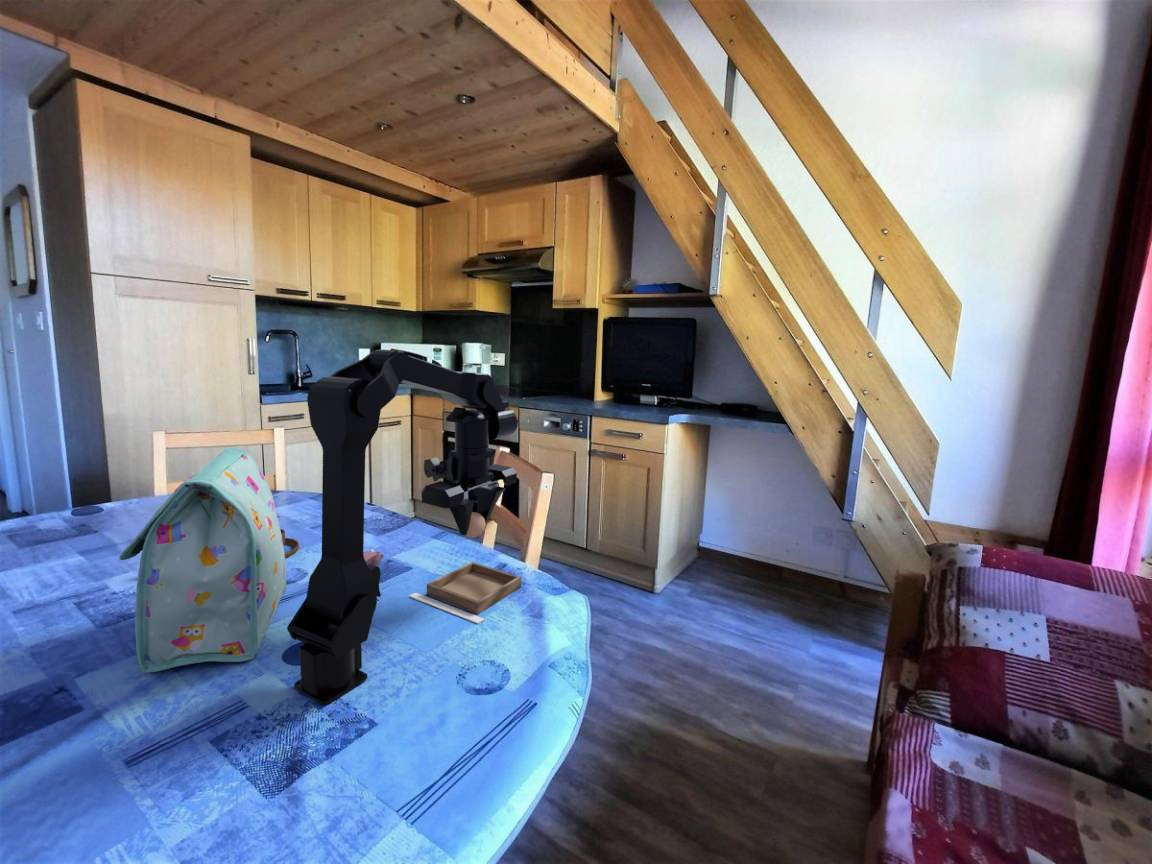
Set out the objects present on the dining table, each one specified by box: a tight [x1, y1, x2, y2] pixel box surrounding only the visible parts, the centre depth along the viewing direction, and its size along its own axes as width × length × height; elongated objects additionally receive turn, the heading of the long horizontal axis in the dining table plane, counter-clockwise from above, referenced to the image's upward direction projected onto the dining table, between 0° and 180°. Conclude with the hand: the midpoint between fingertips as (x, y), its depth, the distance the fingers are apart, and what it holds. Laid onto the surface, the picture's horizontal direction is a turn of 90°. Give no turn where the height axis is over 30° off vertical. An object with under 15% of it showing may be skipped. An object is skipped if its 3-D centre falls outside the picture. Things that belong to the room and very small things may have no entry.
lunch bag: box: [118, 446, 287, 673], centre depth 75 cm, size 23×16×27 cm
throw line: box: [408, 592, 485, 625], centre depth 86 cm, size 2×16×1 cm, turn 60°
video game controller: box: [363, 548, 384, 567], centre depth 94 cm, size 10×5×7 cm, turn 169°
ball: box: [464, 511, 487, 539], centre depth 90 cm, size 4×4×4 cm
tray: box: [426, 561, 522, 615], centre depth 92 cm, size 12×12×2 cm
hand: (472, 530), depth 90 cm, fingers closed on ball, 4 cm apart
